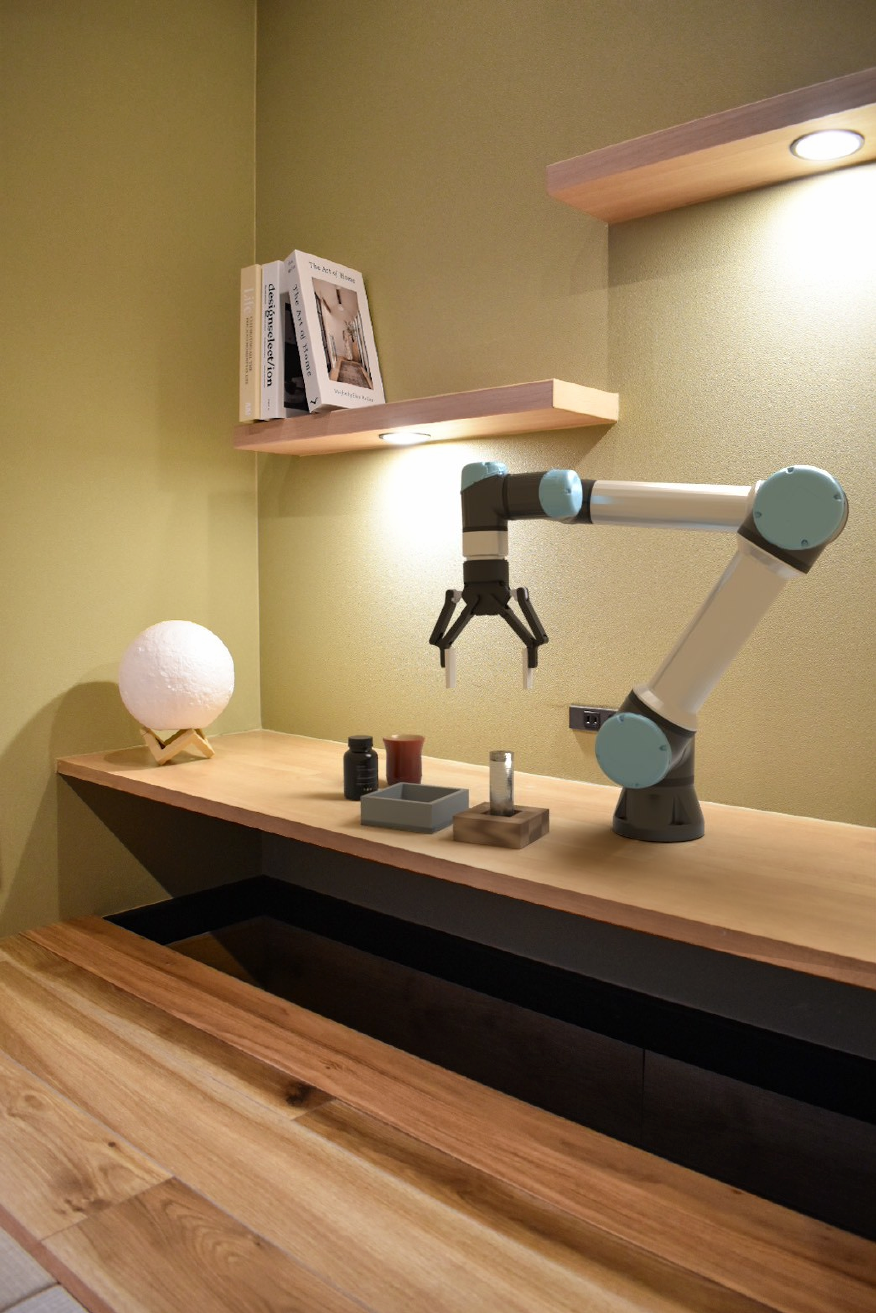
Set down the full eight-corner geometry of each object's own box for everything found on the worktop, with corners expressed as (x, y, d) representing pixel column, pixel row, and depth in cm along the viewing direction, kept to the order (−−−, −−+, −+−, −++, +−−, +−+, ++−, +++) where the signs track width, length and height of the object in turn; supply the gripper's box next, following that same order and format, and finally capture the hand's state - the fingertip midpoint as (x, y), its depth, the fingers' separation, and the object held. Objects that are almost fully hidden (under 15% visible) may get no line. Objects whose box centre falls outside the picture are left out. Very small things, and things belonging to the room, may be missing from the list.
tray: (468, 816, 182) (468, 789, 181) (431, 833, 170) (431, 804, 169) (401, 808, 188) (401, 782, 188) (360, 824, 176) (360, 796, 176)
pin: (517, 834, 169) (517, 751, 168) (507, 840, 165) (507, 755, 164) (495, 832, 171) (495, 749, 170) (485, 837, 167) (485, 753, 166)
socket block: (549, 832, 170) (549, 808, 170) (520, 848, 160) (520, 823, 159) (484, 824, 176) (484, 801, 176) (452, 840, 165) (452, 815, 165)
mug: (431, 789, 206) (431, 739, 205) (390, 792, 203) (390, 741, 202) (412, 778, 217) (411, 730, 217) (372, 781, 214) (372, 733, 214)
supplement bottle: (338, 796, 200) (337, 735, 199) (370, 792, 203) (369, 733, 202) (351, 802, 194) (351, 740, 193) (384, 799, 197) (383, 737, 196)
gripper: (565, 556, 164) (568, 686, 166) (426, 562, 175) (429, 684, 176) (551, 555, 157) (554, 691, 159) (407, 561, 168) (410, 689, 169)
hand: (488, 688), depth 167 cm, fingers open, 13 cm apart
